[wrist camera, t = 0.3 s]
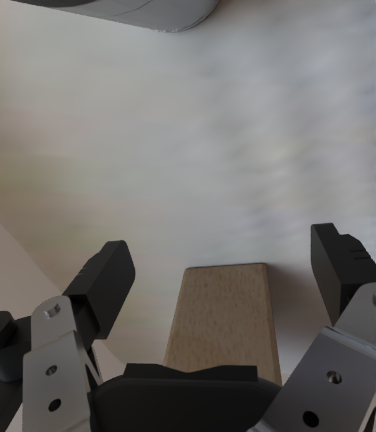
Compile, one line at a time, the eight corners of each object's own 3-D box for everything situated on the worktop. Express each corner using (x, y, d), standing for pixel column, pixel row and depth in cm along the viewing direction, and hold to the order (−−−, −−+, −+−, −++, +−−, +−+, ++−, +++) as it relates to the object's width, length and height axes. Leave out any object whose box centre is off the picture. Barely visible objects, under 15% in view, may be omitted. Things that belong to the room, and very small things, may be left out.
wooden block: (183, 266, 36) (136, 464, 19) (265, 261, 34) (295, 479, 17) (198, 321, 41) (172, 518, 24) (271, 319, 38) (299, 535, 21)
